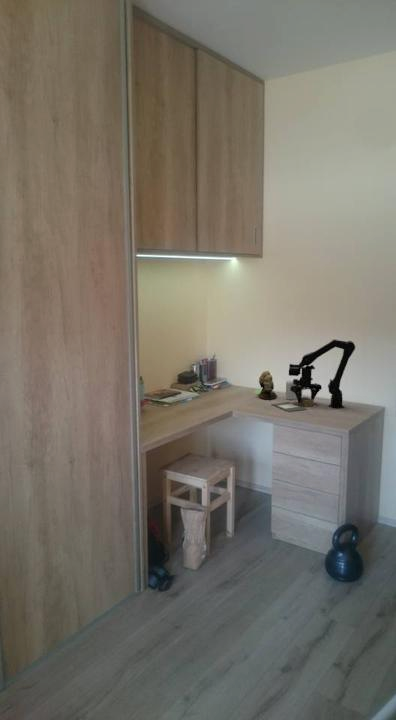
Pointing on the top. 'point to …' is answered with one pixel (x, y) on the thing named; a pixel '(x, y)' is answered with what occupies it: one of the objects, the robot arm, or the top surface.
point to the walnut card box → (306, 402)
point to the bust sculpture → (267, 386)
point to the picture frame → (288, 407)
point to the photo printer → (289, 393)
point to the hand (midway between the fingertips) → (305, 402)
